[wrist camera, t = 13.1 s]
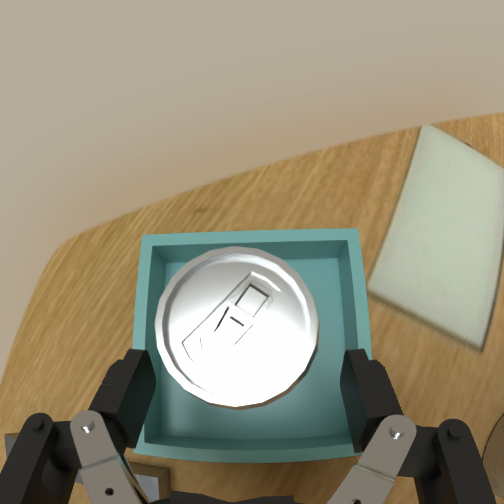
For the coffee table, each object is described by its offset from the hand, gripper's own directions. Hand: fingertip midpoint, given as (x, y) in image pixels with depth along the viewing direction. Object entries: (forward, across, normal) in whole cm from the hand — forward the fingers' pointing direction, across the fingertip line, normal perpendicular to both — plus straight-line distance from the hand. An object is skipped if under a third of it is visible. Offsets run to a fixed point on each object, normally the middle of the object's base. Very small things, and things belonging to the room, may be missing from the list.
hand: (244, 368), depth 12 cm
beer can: (+7, 0, +5) cm, 9 cm away
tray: (+7, 0, +5) cm, 9 cm away
